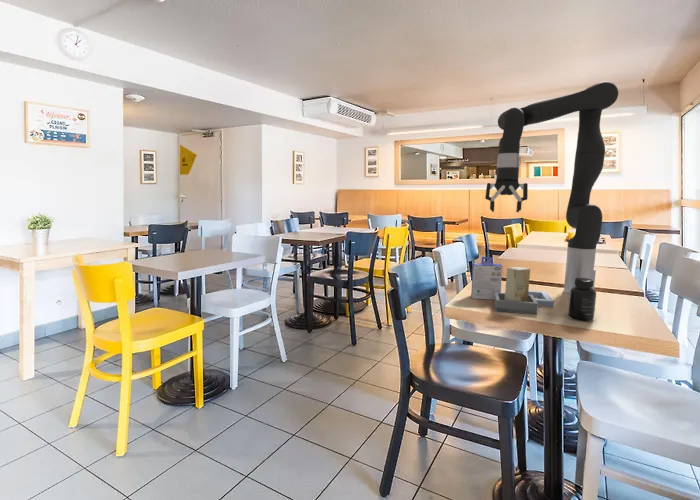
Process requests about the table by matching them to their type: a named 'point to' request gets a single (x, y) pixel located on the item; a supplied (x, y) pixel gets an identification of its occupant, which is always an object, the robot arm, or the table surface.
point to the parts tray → (515, 304)
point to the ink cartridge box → (486, 279)
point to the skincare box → (517, 284)
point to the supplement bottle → (582, 300)
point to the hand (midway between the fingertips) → (505, 211)
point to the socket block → (542, 298)
